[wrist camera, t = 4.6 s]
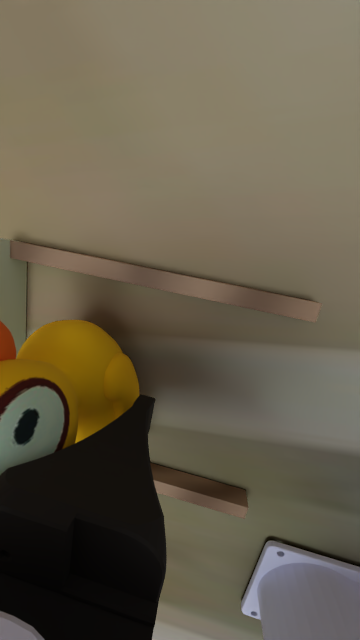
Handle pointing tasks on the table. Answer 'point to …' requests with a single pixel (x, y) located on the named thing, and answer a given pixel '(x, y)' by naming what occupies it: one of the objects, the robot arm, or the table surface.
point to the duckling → (60, 388)
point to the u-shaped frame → (11, 288)
